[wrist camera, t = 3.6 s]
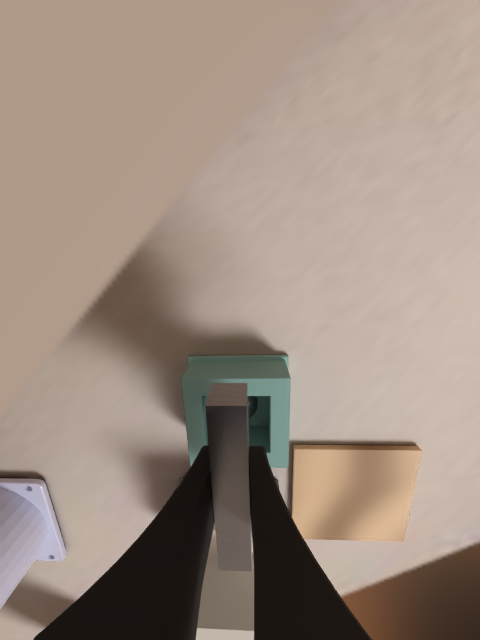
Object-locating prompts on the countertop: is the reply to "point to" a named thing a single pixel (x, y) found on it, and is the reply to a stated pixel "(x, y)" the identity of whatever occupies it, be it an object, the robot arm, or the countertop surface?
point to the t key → (231, 472)
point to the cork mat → (353, 491)
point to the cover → (226, 601)
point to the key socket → (263, 382)
